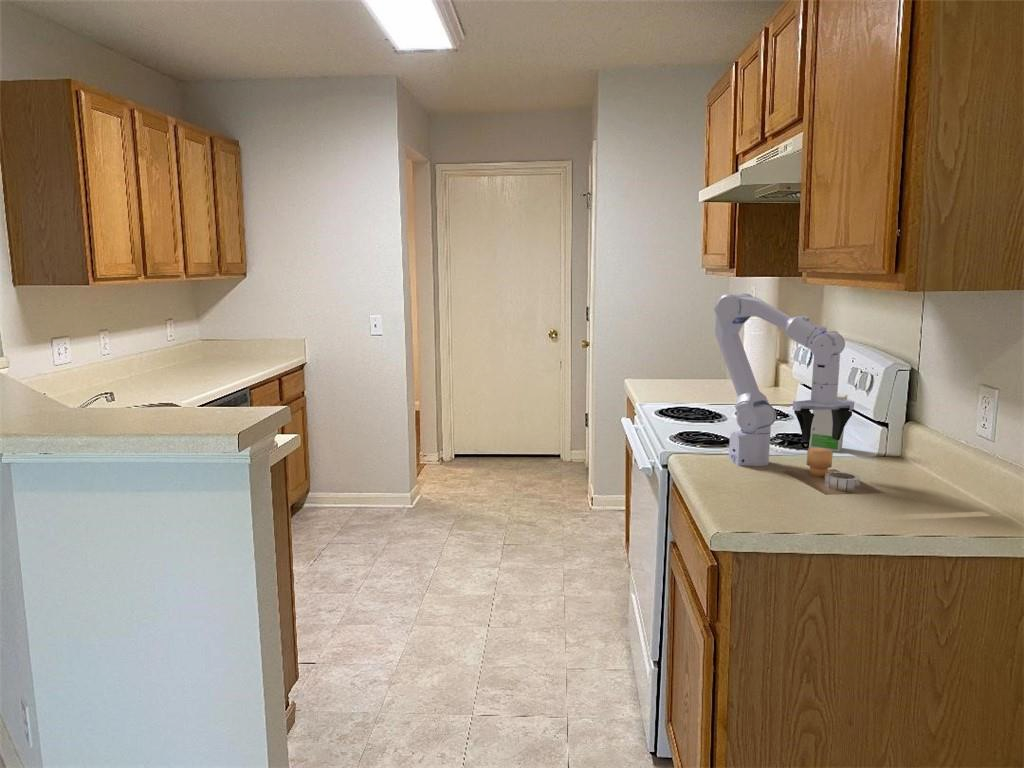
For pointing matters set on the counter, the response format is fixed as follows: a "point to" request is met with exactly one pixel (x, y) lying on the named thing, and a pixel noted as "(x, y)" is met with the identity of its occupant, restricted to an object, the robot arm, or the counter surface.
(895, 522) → the counter surface
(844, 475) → the duct stub
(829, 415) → the skincare box
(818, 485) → the brown board
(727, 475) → the counter surface
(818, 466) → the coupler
